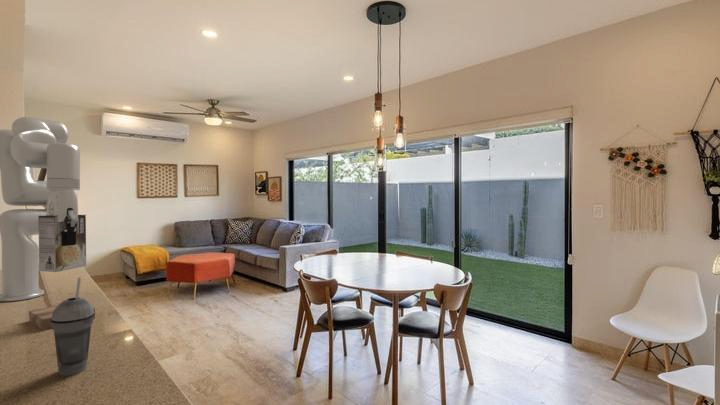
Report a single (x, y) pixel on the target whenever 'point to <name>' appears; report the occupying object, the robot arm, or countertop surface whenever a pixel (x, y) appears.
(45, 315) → the walnut base
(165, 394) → the countertop surface
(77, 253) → the coffee box
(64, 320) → the beverage cup
